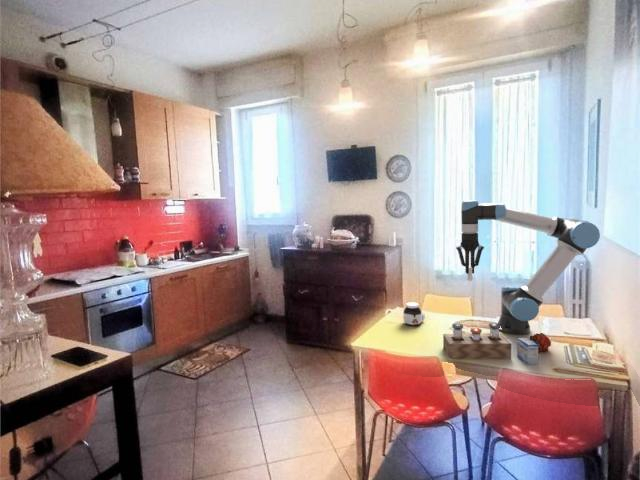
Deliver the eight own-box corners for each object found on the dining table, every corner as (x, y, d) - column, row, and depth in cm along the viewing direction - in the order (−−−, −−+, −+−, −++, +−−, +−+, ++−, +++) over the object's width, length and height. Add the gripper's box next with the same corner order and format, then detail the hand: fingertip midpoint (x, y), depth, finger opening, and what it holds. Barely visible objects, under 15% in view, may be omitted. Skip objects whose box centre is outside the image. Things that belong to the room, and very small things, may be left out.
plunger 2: (479, 346, 175) (479, 327, 174) (482, 350, 170) (482, 331, 169) (469, 346, 175) (469, 327, 174) (472, 350, 170) (472, 331, 169)
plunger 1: (461, 342, 175) (461, 323, 174) (464, 346, 171) (464, 326, 169) (451, 342, 176) (451, 323, 174) (453, 346, 171) (453, 326, 170)
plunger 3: (497, 341, 174) (497, 322, 173) (501, 345, 169) (501, 326, 168) (487, 341, 174) (487, 322, 173) (490, 345, 169) (490, 326, 168)
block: (500, 347, 178) (500, 333, 177) (511, 358, 166) (511, 343, 165) (443, 348, 180) (443, 334, 179) (449, 359, 168) (449, 344, 167)
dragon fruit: (534, 358, 169) (540, 352, 178) (552, 350, 165) (557, 345, 174) (522, 340, 172) (528, 335, 181) (540, 332, 168) (545, 328, 177)
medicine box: (516, 357, 167) (517, 338, 166) (526, 356, 168) (526, 337, 167) (528, 364, 160) (528, 345, 159) (538, 364, 160) (538, 344, 159)
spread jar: (403, 326, 212) (403, 305, 210) (403, 319, 223) (403, 300, 221) (425, 327, 209) (425, 306, 208) (424, 320, 220) (424, 300, 219)
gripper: (481, 231, 189) (481, 277, 191) (454, 232, 190) (454, 278, 193) (486, 232, 181) (486, 281, 184) (458, 233, 182) (458, 282, 185)
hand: (469, 279), depth 188 cm, fingers closed
